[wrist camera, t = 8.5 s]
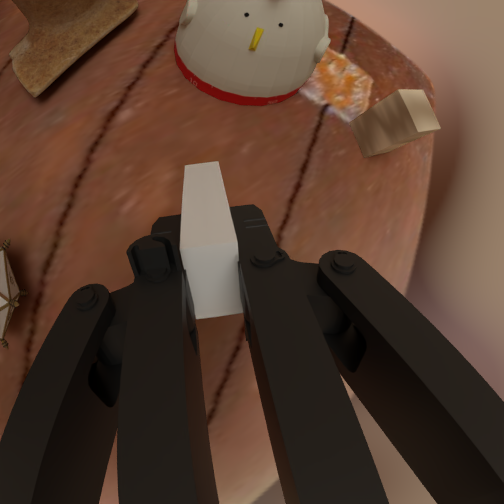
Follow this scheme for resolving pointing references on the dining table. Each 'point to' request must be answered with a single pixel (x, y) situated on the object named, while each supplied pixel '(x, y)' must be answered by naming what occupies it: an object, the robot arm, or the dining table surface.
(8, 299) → the game die
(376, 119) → the birch block
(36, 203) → the dining table surface
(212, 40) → the kitchen timer
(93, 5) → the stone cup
